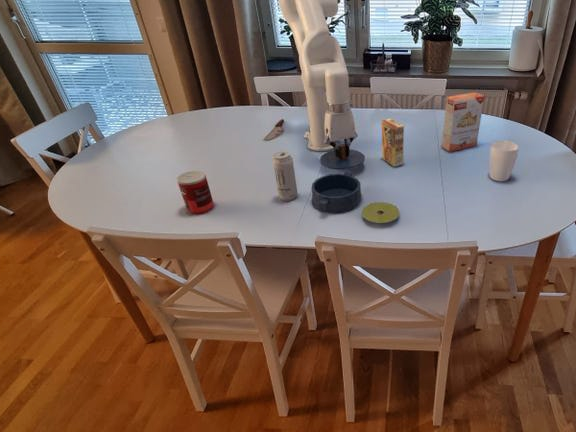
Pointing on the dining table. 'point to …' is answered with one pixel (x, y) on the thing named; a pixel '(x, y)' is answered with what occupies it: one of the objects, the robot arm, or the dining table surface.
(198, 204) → the canned food
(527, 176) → the dining table surface
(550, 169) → the dining table surface
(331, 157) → the pan lid
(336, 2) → the robot arm
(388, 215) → the olive green disc
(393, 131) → the candy box
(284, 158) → the energy drink can
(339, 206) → the pan
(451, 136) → the cracker box
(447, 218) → the dining table surface
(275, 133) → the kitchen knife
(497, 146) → the cup
